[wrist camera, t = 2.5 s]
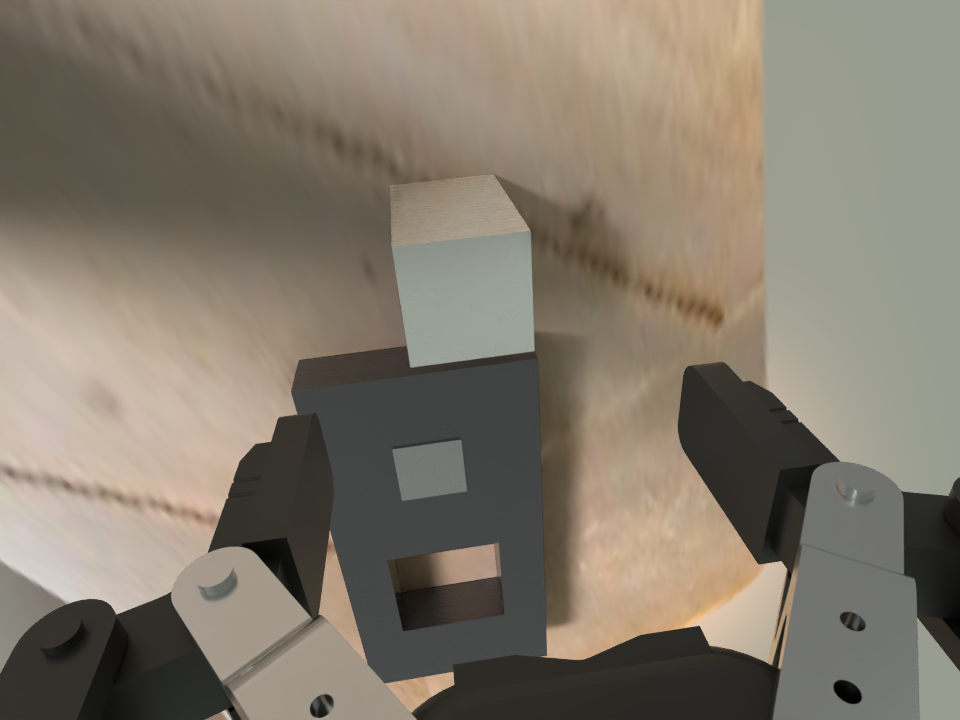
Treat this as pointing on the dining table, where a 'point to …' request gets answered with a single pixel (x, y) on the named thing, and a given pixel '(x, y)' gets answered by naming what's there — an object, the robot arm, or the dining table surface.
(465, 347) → the grey rectangular block
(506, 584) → the dark grey flat board
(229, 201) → the dining table surface
